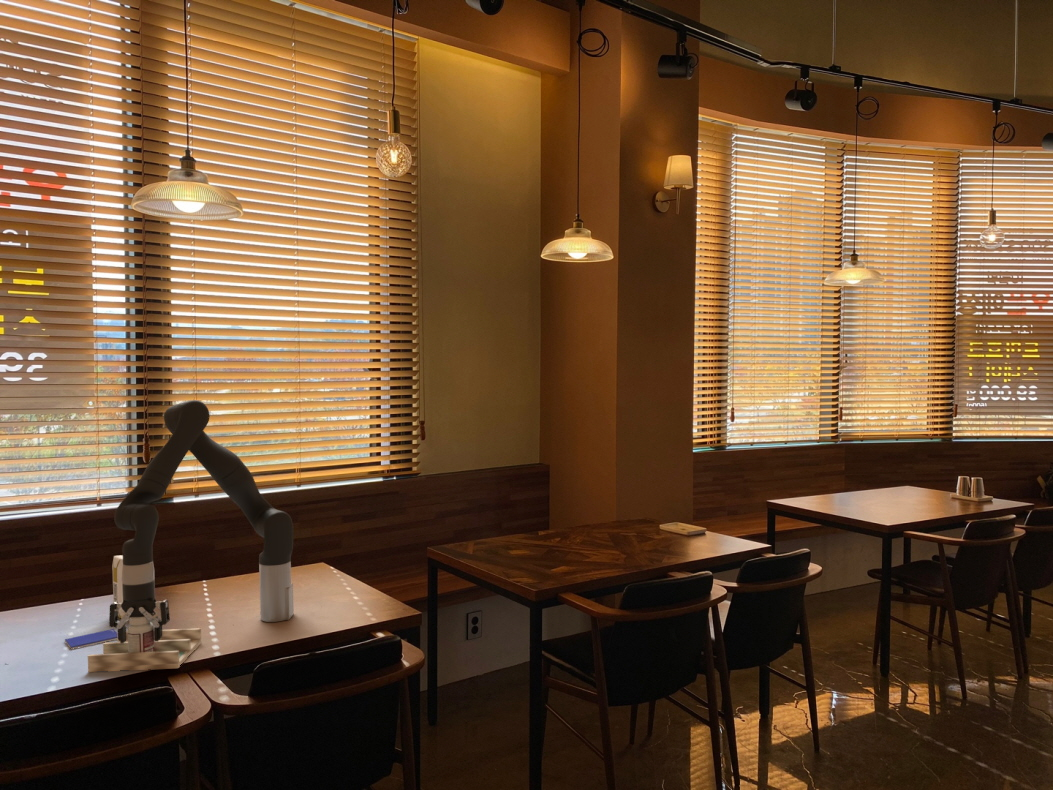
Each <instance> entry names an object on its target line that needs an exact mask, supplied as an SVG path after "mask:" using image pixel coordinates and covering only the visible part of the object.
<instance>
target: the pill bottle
mask: <svg viewBox="0 0 1053 790" xmlns="http://www.w3.org/2000/svg"><path fill="white" fill-rule="evenodd" d="M128 624H129V626H128V628H127V631H128V653H137V652H155V647H154V628H155V626H154V625H153V624H152V622H150V621H149V620H148V619H147V618H146V617H129V620H128Z"/></svg>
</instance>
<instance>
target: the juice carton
mask: <svg viewBox="0 0 1053 790" xmlns="http://www.w3.org/2000/svg"><path fill="white" fill-rule="evenodd" d="M111 568H112V592H113V593H112V595H113V603H114V602H116V601H117V602H118V603H123V590H122V569H123V554H122V555H113V560H112V567H111ZM125 614H126V613H125V612H124V610H123V609H122V607H121V609H120V610H119V611H118V617H119V618H118V619H120V618H121V619H122V618H123V616H124V615H125ZM121 619H120V620H121Z"/></svg>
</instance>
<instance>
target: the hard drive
mask: <svg viewBox="0 0 1053 790" xmlns="http://www.w3.org/2000/svg"><path fill="white" fill-rule="evenodd" d="M117 633H118V631H116V630H115V629H114V628H111V629H107V630H102V631H98V632H92V633H88V634H84V635H83V634H82V635H78V636H73V637H69V638H66V639H64V643H65V642H66V643H67V644H68V645H67V644H66V643H65V644H66V645H67V647H68V646H69V647H70V648H71V649H73V648H77V649H79V648H78V647H82V648H84V647H83V646H86V647H89V646H88V645H91V646H94V645H93V644H96V645H98V644H97V643H100V644H102V643H101V642H105V643H107V642H106V641H109V642H112V641H111V640H114V641H116V640H115V639H117ZM69 647H68V648H69ZM70 648H69V649H70ZM71 649H70V650H71ZM73 650H74V649H73Z"/></svg>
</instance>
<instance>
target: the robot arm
mask: <svg viewBox="0 0 1053 790" xmlns="http://www.w3.org/2000/svg"><path fill="white" fill-rule="evenodd" d="M163 421H164V425H165V426H166V428H167V429H168V431H169V432H170V434H171V436H170V437H169V439H168V440H167V441H166V443H165V444H164V445H163V447H162V448H161V449H160V450H159V451H158V452H157V453H156V454H155V456H154V457H152V459H151V461H150V462H149V463H148V464H147V466H146V468H145V470H144V471H143V473H142V475H141V476H140V477H141V478H140V479H139V481H138V483H137V485H136V486H135V487H134V488H132V490H131V491H130V492H128V494H127V496H125V498H124V499H122V501H121V502H120V503H119V505H118V506H117V508H116V509H115V513H114V517H113V518H114V523H115V525H116V527H117V528H118V529H119V530H123V531H134V532H135V533H134V536H133V538H132V539H128V540H126V541H124V543H123V545H122V551H121V553H122V555H123V569H122V590H123V603H118V602H117V601H116V602H114V601H113V602H112V603H111V604H110V605H109V618H108V619H109V622H108V625H109V627H110V628H115V629H117V633H118V640H119V641H120V643H124V642H125V641H126V639H127V637H126V631H127V626H126V624H127V623H129V617H146V618H147V619H148V620H149V621H150V622H151V623H152V624H153V625H154V640H155V641H159V640H160V638H161V637H162V635H163V634H162V630H163V625H164V626H165V625H166V624H167V623H169V622H170V621H171V618H170V617H171V616H170V607H169V606H170V605H169V600H168V599H167V598H165V599H164V600H159V601H157V600H156V586H155V585H156V583H155V567H154V566H155V565H154V557H153V556H154V554H153V553H154V552H153V545H154V541H155V537H156V532H157V529H158V525H159V519H160V517H159V512H158V510H157V508H156V506H154V505H153V504H151V503H152V502H155V501H159V500H161V499H162V497H164V495H165V493H166V491H167V489H168V487H169V485H170V483H171V481H172V479H173V478H174V476H175V474H176V472H177V470H178V469H179V466H180V465H181V463H182V461H183V460H184V458H185V456H186V455H187V454H188V453H189V452H190V453H191V454H192V455H193V457H195V459H196V460H197V461H198V462H199V463H200V464H201V465H202V467H203V468H204V469H205V471H207V472H208V474H209V475H210V476H211V478H212V479H213V480H214V481H215V482H216V483H217V485H218V486H219V487H220V489H221V490H222V491H223V492H224V493H225V494H226V495H227V496H228V498H230V500H232V502H233V503H234V504H236V505H237V506H238V507H239V509H241V511H242V512H243V514H244V516H245V517H246V519H247V520H248V521H249V523H250V525H251V526H252V528H253V529H254V531H255V532H256V534H258V536H259V537H262V538H263V551H262V552H260V553H259V556H258V565H259V567H258V568H259V570H258V571H259V605H260V606H259V608H260V609H259V610H260V611H259V612H260V613H259V615H260V620H261V621H263V622H266V623H277V622H282V621H288V620H291V618H292V617H293V615H294V608H295V607H294V584H293V583H292V564H291V563H292V561H291V560H292V559H291V558H292V557H291V556H292V554H293V549H294V524H293V523H294V522H293V519H292V517H291V515H290V514H289V513H287V512H286V511H283V510H279V509H276V508H275V507H273V506H272V505H271V504H270V503H269V502H268V501H267V499H265V497H264V496H263V495H262V493H261V492H260V490H259V488H258V486H257V484H256V481H255V479H254V476H253V473H252V472H250V470H249V468H248V467H247V466H246V465H245V463H244V461H242V460H241V458H240V457H239V456H237V454H236V453H234V452H233V451H231V450H230V449H229V448H227V447H226V446H224V445H221V444H220V443H218V442H216V441H215V440H213V439H212V438H211V437H210V436H209V435H208V434H207V433H206V432H205V431H204V430H205V429H206V427H207V426H208V424H209V422H210V410H209V408H208V407H207V405H206V404H205V403H203V402H202V401H200V400H196V399H192V400H191V399H190V400H186V401H183V402H180V403H176V404H174V405H171V406H169V407H168V408H167V409H166V410H165V412H164V414H163ZM121 607H122V609H123V610H124V612H125V613H126V614H125V615H124V616H123V618H122V619H120V620H119V618H118V611H119V610H120V609H121ZM156 607H157V608H158V610H160V616H159V614H158V612H157V611H156V610H155V608H156Z"/></svg>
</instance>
